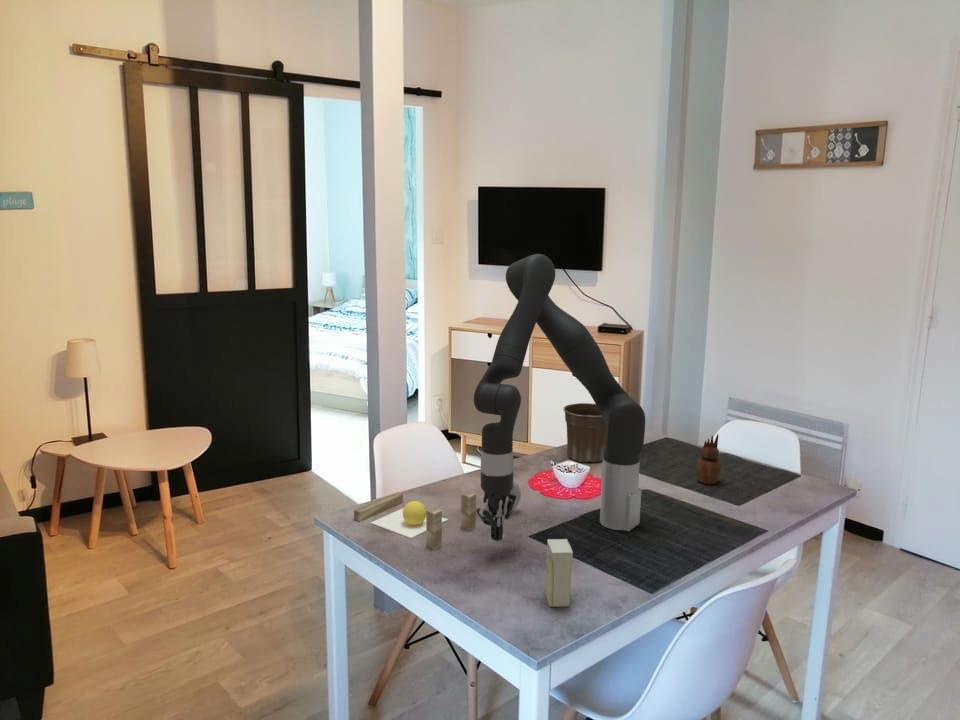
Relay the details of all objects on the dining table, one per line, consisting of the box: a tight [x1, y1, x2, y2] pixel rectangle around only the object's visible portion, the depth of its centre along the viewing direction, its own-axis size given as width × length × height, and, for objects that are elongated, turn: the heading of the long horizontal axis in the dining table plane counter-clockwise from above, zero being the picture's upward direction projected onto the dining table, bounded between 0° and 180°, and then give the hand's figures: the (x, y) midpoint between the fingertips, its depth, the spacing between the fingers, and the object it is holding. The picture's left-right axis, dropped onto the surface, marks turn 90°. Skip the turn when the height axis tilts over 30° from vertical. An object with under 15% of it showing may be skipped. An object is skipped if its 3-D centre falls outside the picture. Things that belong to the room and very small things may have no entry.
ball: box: [403, 500, 427, 525], centre depth 190 cm, size 6×6×6 cm
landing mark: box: [370, 507, 449, 539], centre depth 192 cm, size 14×14×1 cm
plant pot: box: [563, 402, 608, 464], centre depth 241 cm, size 16×16×16 cm
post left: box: [425, 507, 443, 550], centre depth 178 cm, size 3×3×9 cm
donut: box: [510, 479, 522, 513], centre depth 196 cm, size 10×4×10 cm, turn 122°
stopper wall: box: [353, 492, 404, 523], centre depth 198 cm, size 2×16×2 cm, turn 142°
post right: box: [460, 491, 477, 532], centre depth 188 cm, size 3×3×9 cm
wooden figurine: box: [695, 434, 722, 485], centre depth 220 cm, size 7×6×15 cm
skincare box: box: [544, 538, 574, 608], centre depth 154 cm, size 6×4×12 cm
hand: (496, 539), depth 175 cm, fingers closed
